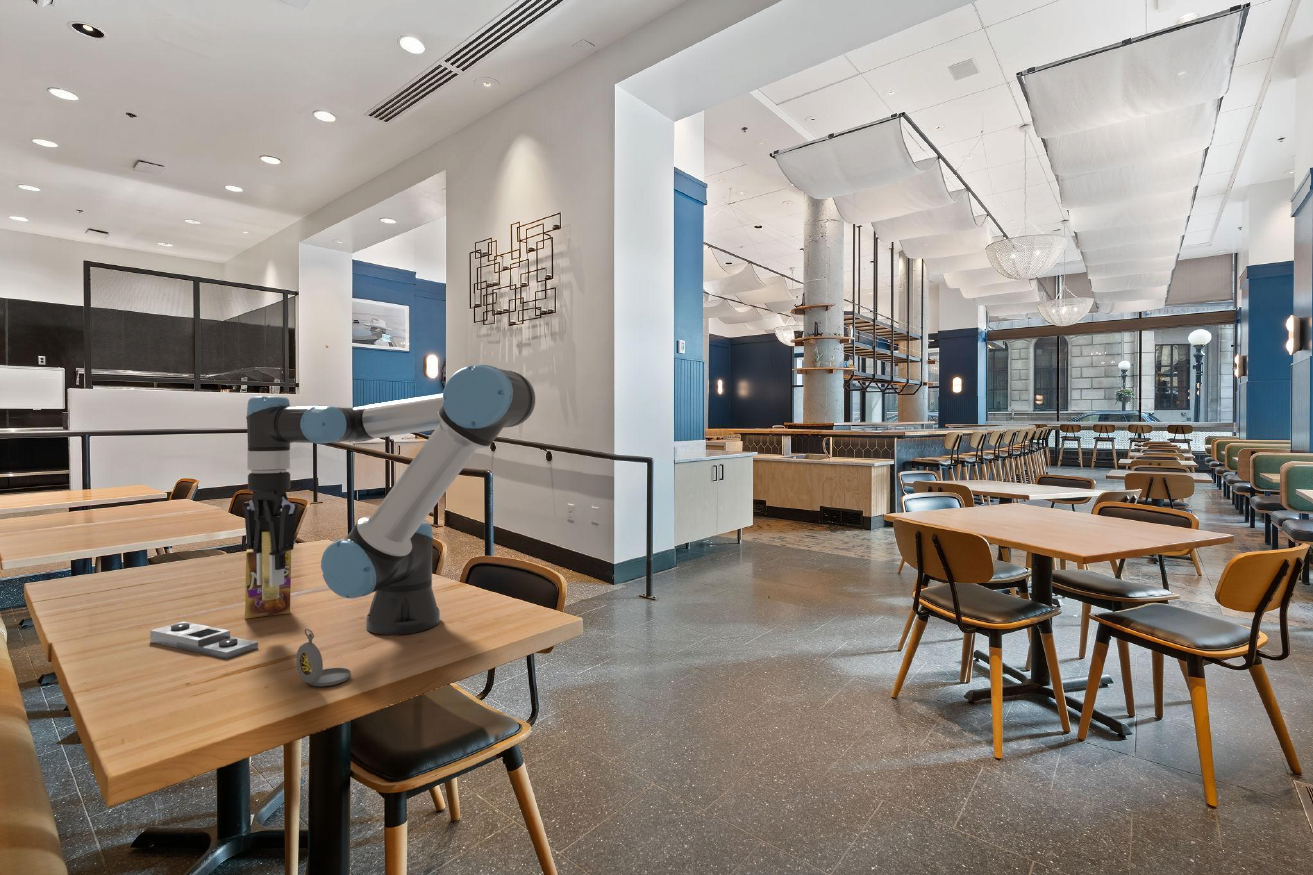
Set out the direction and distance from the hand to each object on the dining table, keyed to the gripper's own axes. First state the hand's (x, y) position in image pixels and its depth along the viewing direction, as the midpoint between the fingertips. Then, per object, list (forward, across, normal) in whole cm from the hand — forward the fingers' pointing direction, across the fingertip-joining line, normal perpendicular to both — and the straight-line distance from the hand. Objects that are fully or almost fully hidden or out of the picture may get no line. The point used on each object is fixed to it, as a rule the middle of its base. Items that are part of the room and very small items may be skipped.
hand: (270, 584), depth 130 cm
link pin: (+3, 0, 0) cm, 3 cm away
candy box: (+11, +14, -10) cm, 20 cm away
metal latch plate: (+11, +7, +9) cm, 15 cm away
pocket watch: (+12, -29, +13) cm, 34 cm away
